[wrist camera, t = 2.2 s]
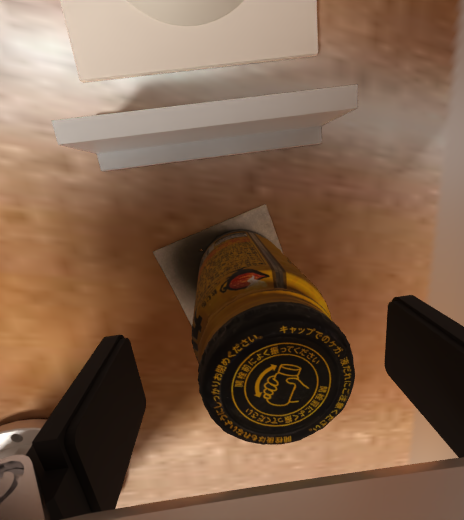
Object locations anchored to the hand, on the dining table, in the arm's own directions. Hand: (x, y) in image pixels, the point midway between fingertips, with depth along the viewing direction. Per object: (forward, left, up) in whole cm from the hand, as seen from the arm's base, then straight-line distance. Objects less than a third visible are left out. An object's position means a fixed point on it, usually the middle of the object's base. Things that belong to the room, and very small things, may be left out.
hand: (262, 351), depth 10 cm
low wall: (+9, +1, -11) cm, 14 cm away
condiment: (-1, +1, -11) cm, 11 cm away
